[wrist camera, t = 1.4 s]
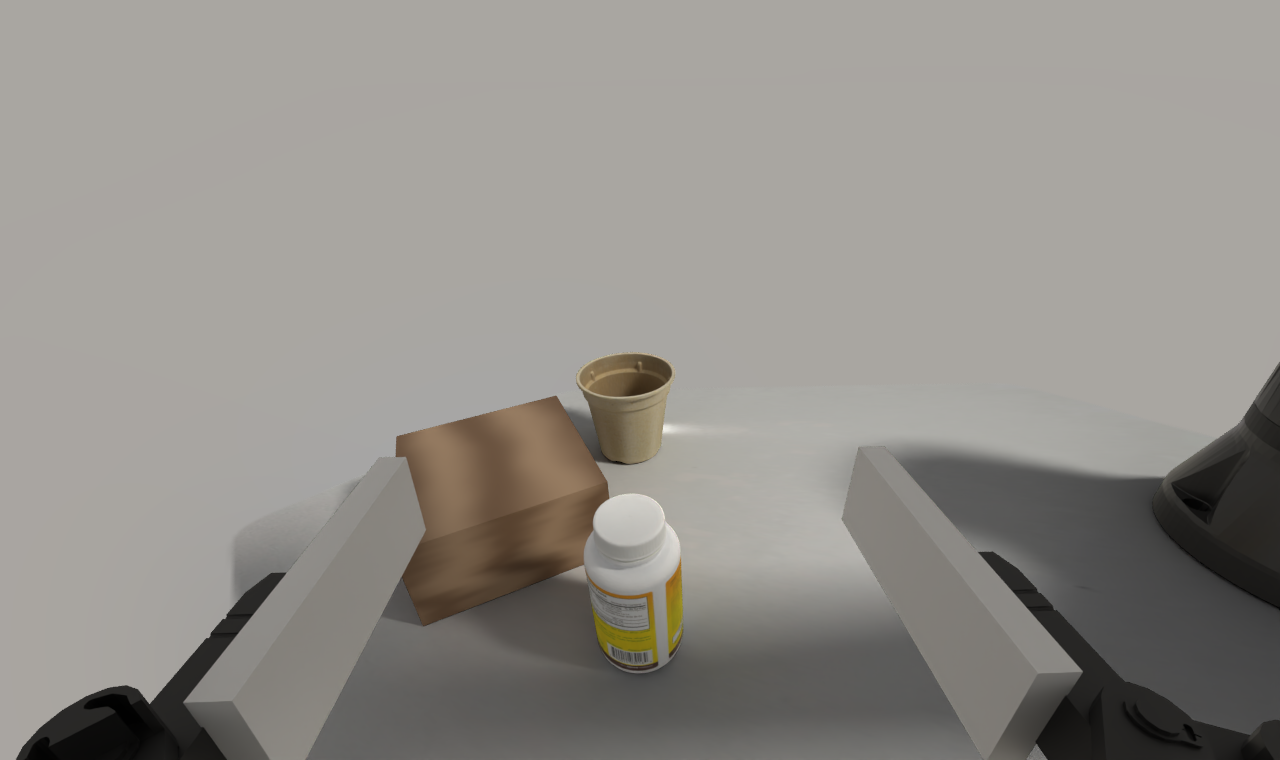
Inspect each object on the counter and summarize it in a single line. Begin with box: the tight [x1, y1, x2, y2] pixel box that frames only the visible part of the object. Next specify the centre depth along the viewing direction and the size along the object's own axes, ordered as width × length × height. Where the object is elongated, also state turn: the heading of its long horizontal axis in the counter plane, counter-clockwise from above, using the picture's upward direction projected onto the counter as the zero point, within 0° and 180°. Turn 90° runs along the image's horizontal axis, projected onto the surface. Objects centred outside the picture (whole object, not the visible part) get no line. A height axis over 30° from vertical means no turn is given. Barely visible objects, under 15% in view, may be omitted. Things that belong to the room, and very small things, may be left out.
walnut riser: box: [396, 396, 609, 626], centre depth 38 cm, size 14×14×7 cm
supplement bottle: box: [584, 493, 683, 673], centre depth 28 cm, size 6×6×10 cm
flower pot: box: [576, 352, 675, 464], centre depth 46 cm, size 9×9×9 cm
